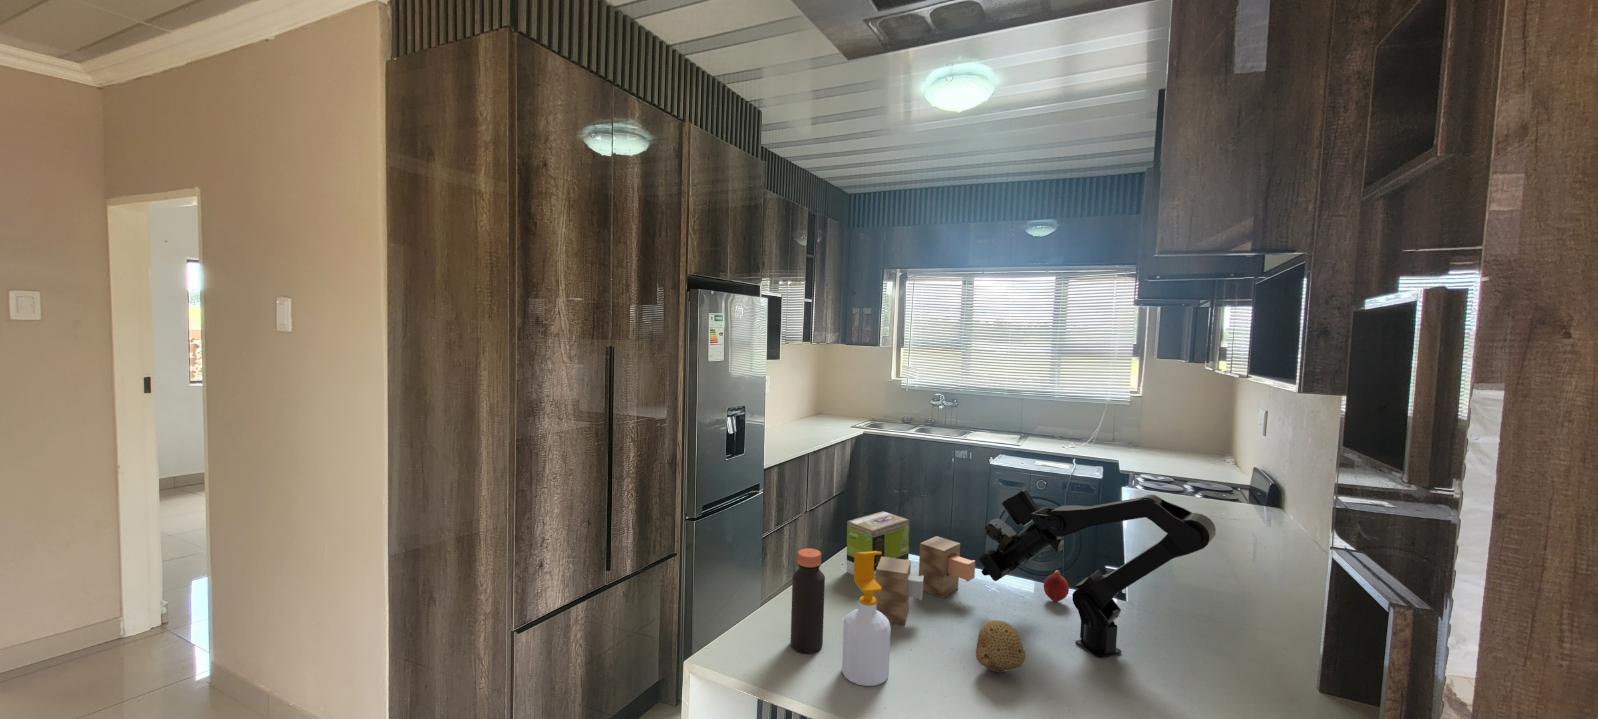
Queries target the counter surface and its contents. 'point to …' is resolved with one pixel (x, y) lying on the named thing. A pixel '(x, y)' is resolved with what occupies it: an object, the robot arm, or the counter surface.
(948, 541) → the walnut block right
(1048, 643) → the counter surface
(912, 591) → the grey key
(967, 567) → the tan rectangular block
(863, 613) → the soap bottle
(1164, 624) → the counter surface
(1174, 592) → the counter surface
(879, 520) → the tea box
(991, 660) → the natural sponge
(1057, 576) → the onion
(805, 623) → the vinegar
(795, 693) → the counter surface
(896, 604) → the walnut block left
